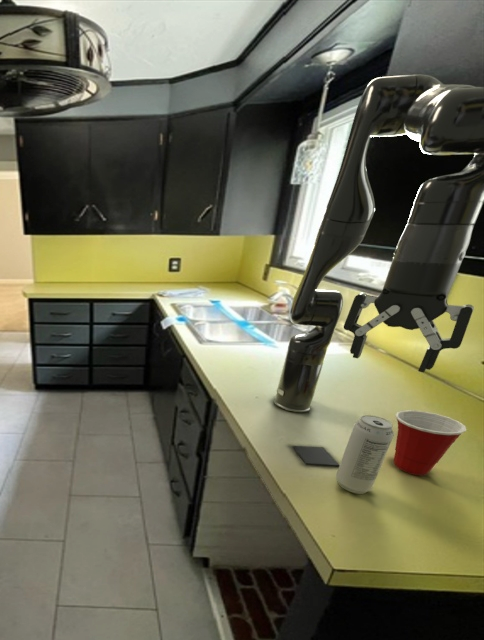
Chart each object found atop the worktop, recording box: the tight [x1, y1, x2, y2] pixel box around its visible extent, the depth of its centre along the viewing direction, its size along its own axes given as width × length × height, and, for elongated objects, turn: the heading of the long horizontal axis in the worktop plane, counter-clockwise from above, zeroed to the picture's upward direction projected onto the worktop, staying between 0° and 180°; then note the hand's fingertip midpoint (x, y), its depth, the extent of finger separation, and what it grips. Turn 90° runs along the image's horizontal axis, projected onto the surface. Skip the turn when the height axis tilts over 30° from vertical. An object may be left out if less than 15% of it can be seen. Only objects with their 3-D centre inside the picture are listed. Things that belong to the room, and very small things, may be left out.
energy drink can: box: [335, 414, 395, 495], centre depth 71 cm, size 6×6×15 cm
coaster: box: [292, 445, 340, 468], centre depth 83 cm, size 7×7×1 cm
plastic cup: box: [393, 409, 467, 476], centre depth 77 cm, size 11×11×12 cm
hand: (387, 363), depth 59 cm, fingers open, 8 cm apart
